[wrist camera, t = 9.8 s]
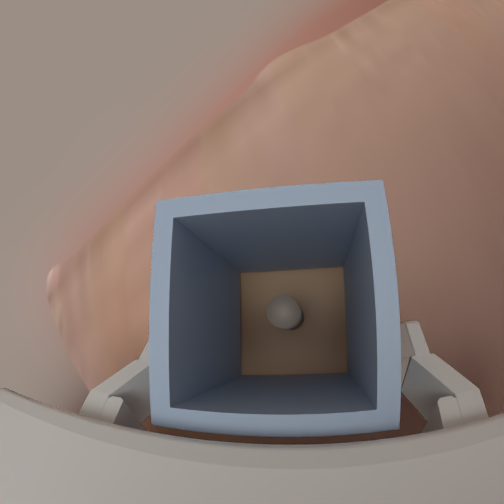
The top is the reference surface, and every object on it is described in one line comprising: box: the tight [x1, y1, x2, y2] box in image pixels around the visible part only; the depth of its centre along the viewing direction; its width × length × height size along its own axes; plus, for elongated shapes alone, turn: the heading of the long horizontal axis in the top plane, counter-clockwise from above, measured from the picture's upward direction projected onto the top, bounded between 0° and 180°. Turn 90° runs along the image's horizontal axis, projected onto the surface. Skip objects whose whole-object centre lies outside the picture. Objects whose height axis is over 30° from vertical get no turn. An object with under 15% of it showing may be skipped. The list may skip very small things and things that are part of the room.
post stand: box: [240, 267, 347, 375], centre depth 14 cm, size 6×6×6 cm
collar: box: [149, 180, 401, 437], centre depth 11 cm, size 6×6×8 cm
